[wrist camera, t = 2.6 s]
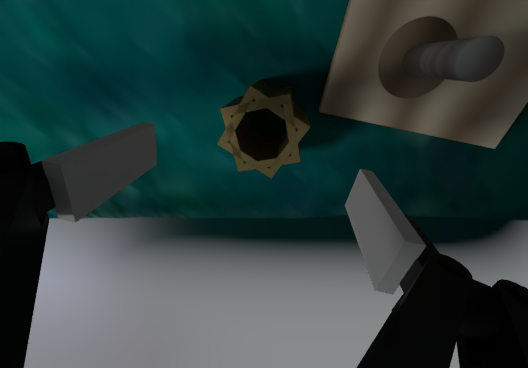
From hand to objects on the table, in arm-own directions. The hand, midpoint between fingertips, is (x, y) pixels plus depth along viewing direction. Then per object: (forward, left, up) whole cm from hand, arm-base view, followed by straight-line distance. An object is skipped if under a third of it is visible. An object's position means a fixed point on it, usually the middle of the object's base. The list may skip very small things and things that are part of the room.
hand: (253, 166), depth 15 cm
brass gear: (0, 0, -13) cm, 13 cm away
